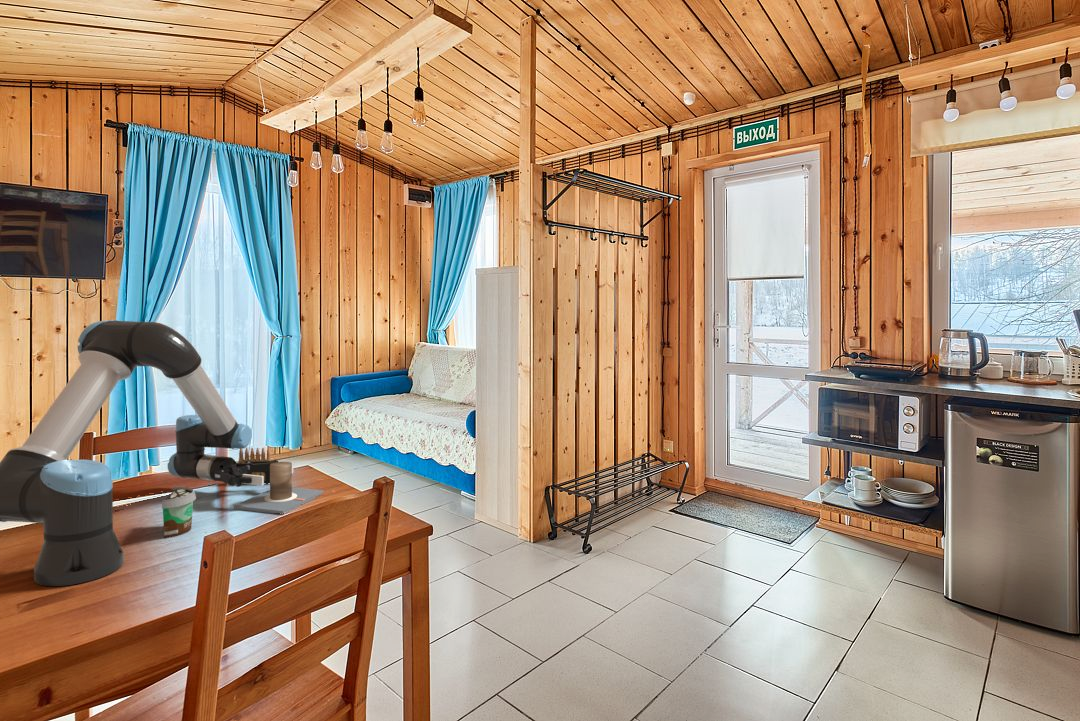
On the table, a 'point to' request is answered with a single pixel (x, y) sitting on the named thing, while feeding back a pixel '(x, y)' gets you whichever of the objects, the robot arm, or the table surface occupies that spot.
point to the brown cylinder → (280, 480)
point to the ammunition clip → (252, 458)
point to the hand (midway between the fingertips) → (278, 474)
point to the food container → (178, 511)
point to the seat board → (278, 501)
